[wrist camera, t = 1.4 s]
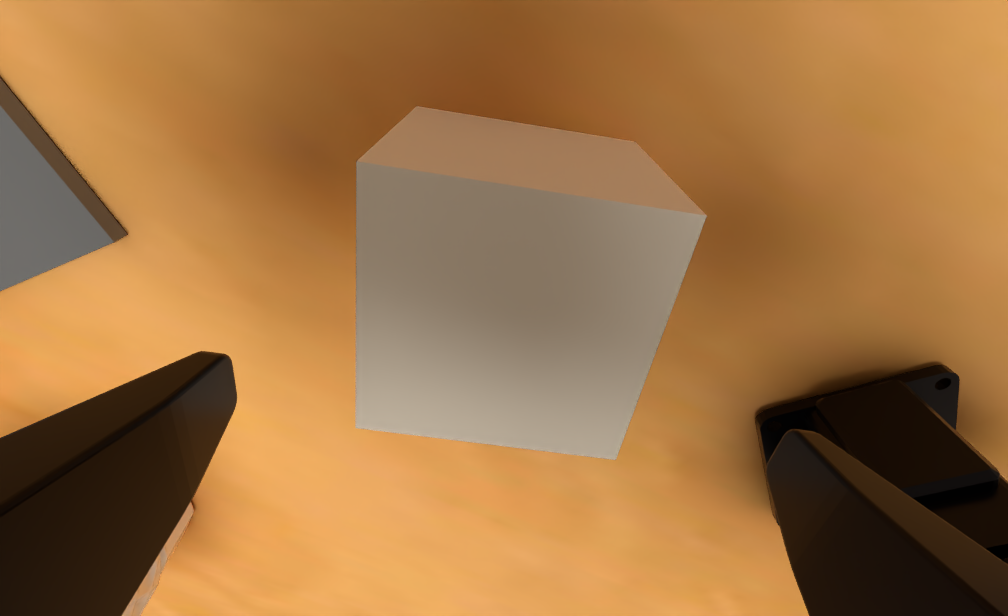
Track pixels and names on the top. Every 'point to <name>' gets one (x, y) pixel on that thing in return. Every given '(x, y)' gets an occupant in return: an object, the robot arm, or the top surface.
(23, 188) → the coaster
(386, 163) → the cube
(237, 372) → the top surface
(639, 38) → the top surface
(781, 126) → the top surface
